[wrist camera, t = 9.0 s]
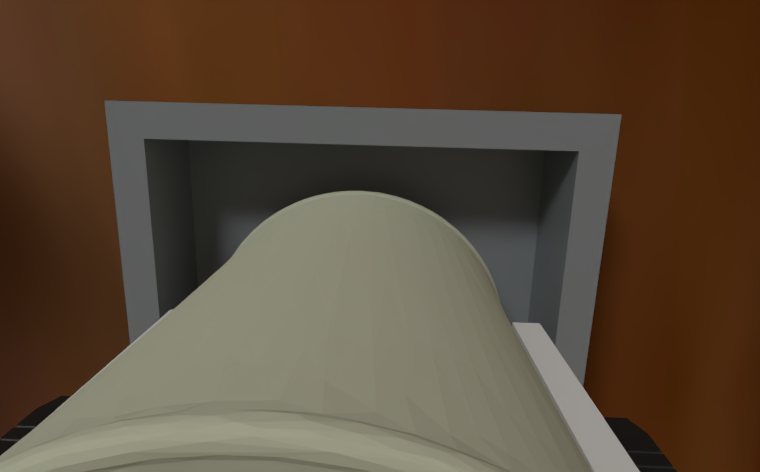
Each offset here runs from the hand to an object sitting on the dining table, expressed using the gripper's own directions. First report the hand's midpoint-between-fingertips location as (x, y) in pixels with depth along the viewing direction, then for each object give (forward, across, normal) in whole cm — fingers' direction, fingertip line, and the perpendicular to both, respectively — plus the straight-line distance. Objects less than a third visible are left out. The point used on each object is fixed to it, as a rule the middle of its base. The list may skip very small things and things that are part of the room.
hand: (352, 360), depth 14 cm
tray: (+5, 0, 0) cm, 5 cm away
